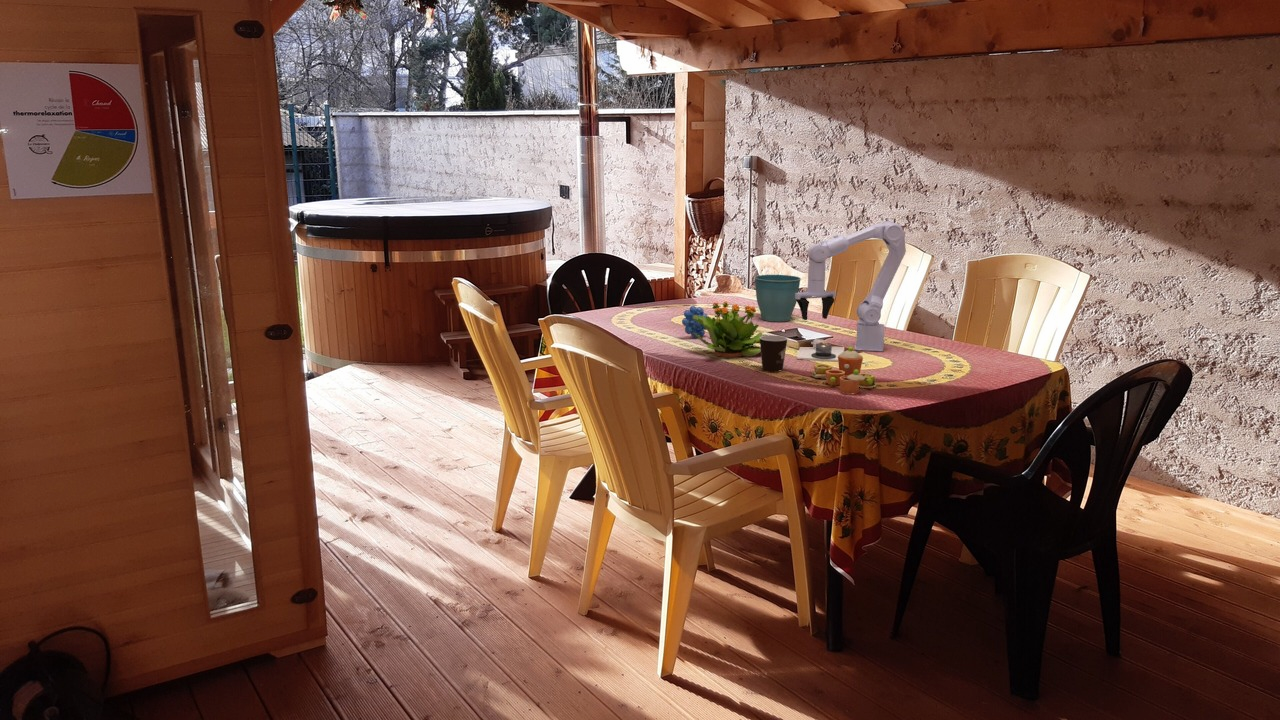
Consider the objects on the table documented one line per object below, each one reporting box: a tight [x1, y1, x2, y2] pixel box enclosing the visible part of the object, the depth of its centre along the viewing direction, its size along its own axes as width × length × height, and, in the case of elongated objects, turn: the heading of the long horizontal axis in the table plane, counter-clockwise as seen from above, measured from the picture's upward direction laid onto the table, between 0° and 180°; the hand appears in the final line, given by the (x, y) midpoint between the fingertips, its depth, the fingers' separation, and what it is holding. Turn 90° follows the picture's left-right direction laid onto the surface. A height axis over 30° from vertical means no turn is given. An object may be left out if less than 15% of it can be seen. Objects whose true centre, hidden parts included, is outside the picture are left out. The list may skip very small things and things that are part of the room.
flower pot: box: [754, 274, 802, 323], centre depth 377 cm, size 18×18×17 cm
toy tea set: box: [810, 346, 877, 394], centre depth 281 cm, size 26×16×10 cm, turn 13°
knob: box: [815, 342, 832, 357], centre depth 313 cm, size 5×5×4 cm
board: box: [796, 338, 845, 362], centre depth 319 cm, size 15×20×4 cm
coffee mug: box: [759, 334, 788, 372], centre depth 299 cm, size 12×9×10 cm
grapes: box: [681, 305, 708, 339], centre depth 342 cm, size 12×7×12 cm, turn 123°
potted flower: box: [692, 300, 768, 358], centre depth 317 cm, size 25×24×18 cm
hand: (814, 318), depth 326 cm, fingers open, 7 cm apart
